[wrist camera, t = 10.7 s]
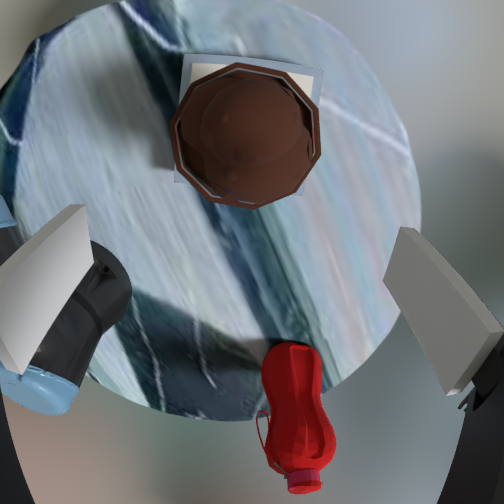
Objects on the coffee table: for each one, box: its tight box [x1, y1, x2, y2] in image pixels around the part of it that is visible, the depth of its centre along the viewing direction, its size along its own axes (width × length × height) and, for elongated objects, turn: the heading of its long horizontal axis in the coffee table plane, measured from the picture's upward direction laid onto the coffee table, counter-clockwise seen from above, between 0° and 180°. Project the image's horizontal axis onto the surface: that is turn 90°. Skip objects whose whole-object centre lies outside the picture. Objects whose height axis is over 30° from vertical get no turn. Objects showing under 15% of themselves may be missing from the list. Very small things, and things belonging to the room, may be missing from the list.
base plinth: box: [174, 54, 324, 196], centre depth 31 cm, size 14×14×4 cm
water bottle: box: [256, 342, 336, 494], centre depth 40 cm, size 9×11×25 cm
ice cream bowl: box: [169, 62, 321, 210], centre depth 22 cm, size 11×11×15 cm
